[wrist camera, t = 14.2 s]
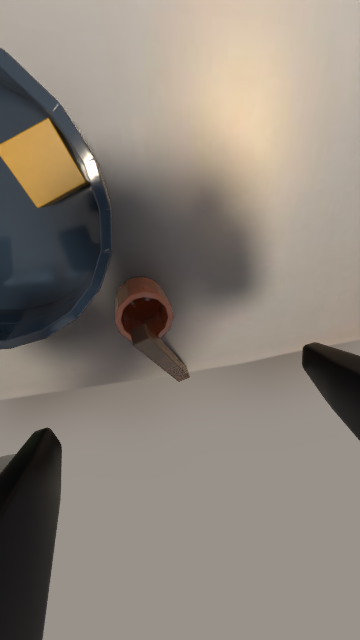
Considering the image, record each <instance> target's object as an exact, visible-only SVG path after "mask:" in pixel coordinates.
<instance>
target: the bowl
mask: <svg viewBox="0 0 360 640" xmlns="http://www.w3.org/2000/svg"><path fill="white" fill-rule="evenodd" d="M46 118H50V119H51V121H52V122H53V123H54V124H55V125H56V126H57V127H58V129H59V130H60V131H61V132H62V134H63V136H64V138H65V139H66V141H67V143H68V145H69V146H70V148H71V150H72V152H73V153H74V155H75V157H76V159H77V160H78V162H79V164H80V165H81V167H82V169H83V171H84V172H85V174H86V176H87V178H88V179H89V182H90V184H88V185H87V186H85V187H83V188H81V189H79V190H78V191H76V192H74V193H72V194H70V195H68V196H67V197H65V198H63V199H61V200H59V201H58V202H56V203H54V204H52V205H50V206H46V207H42V208H37V207H36V206H35V204H34V203H33V201H32V200H31V199H30V197H29V196H28V194H27V193H26V192H25V190H24V189H23V187H22V186H21V185H20V183H19V182H18V180H17V179H16V178H15V176H14V175H13V173H12V172H11V171H10V169H9V168H8V166H7V165H6V164H5V162H4V161H3V159H2V158H1V157H0V349H9V348H10V349H11V348H14V347H18V346H21V345H25V344H28V343H31V342H35V341H38V340H42V339H45V338H47V337H49V336H51V335H52V334H54V333H55V332H57V331H59V330H60V329H62V328H63V327H65V326H66V325H68V324H69V323H71V322H72V321H74V320H75V319H77V318H78V317H79V316H80V315H81V313H82V312H83V311H84V310H85V308H86V307H87V306H88V304H89V303H90V302H91V300H92V299H93V298H94V297H95V295H96V294H97V293H98V291H99V290H100V288H101V285H102V282H103V279H104V276H105V273H106V270H107V266H108V263H109V260H110V257H111V253H112V206H111V201H110V198H109V195H108V192H107V189H106V185H105V182H104V179H103V176H102V173H101V170H100V167H99V165H98V163H97V161H96V159H95V157H94V156H93V154H92V153H91V151H90V150H89V148H88V146H87V145H86V143H85V142H84V140H83V138H82V137H81V135H80V134H79V132H78V131H77V129H76V127H75V126H74V124H73V123H72V121H71V119H70V118H69V116H68V115H67V113H66V112H65V110H64V108H63V107H62V105H60V103H59V102H58V101H57V100H56V99H55V98H54V97H53V96H52V95H51V94H50V93H49V92H48V91H47V90H46V89H45V88H44V87H43V86H42V85H41V84H39V83H38V82H37V81H36V80H35V79H34V78H33V77H32V76H31V75H30V74H29V73H28V72H27V71H26V70H25V69H24V68H23V67H22V66H21V65H20V64H19V63H18V62H17V61H16V60H15V59H14V58H13V57H12V56H10V55H9V54H8V53H7V52H6V51H5V50H3V49H2V48H0V144H1V143H3V142H5V141H6V140H8V139H10V138H12V137H14V136H15V135H17V134H19V133H21V132H23V131H24V130H26V129H28V128H30V127H32V126H33V125H35V124H37V123H39V122H41V121H42V120H44V119H46Z"/></svg>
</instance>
